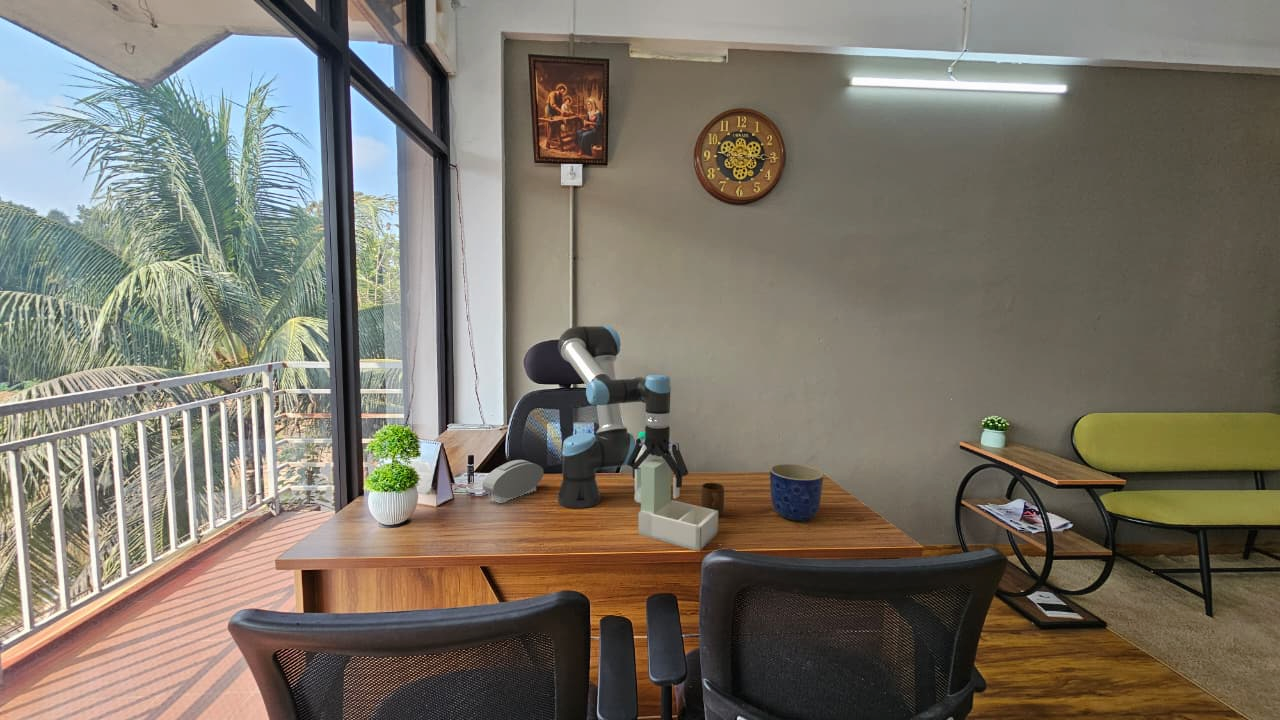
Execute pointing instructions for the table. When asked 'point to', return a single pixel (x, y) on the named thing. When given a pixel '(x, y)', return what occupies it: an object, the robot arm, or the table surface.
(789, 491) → the planter
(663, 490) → the pale green block
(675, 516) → the desk organizer
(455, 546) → the table surface
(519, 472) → the grey rounded oblong block
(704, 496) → the mug
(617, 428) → the robot arm
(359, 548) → the table surface
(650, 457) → the water bottle
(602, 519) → the table surface
